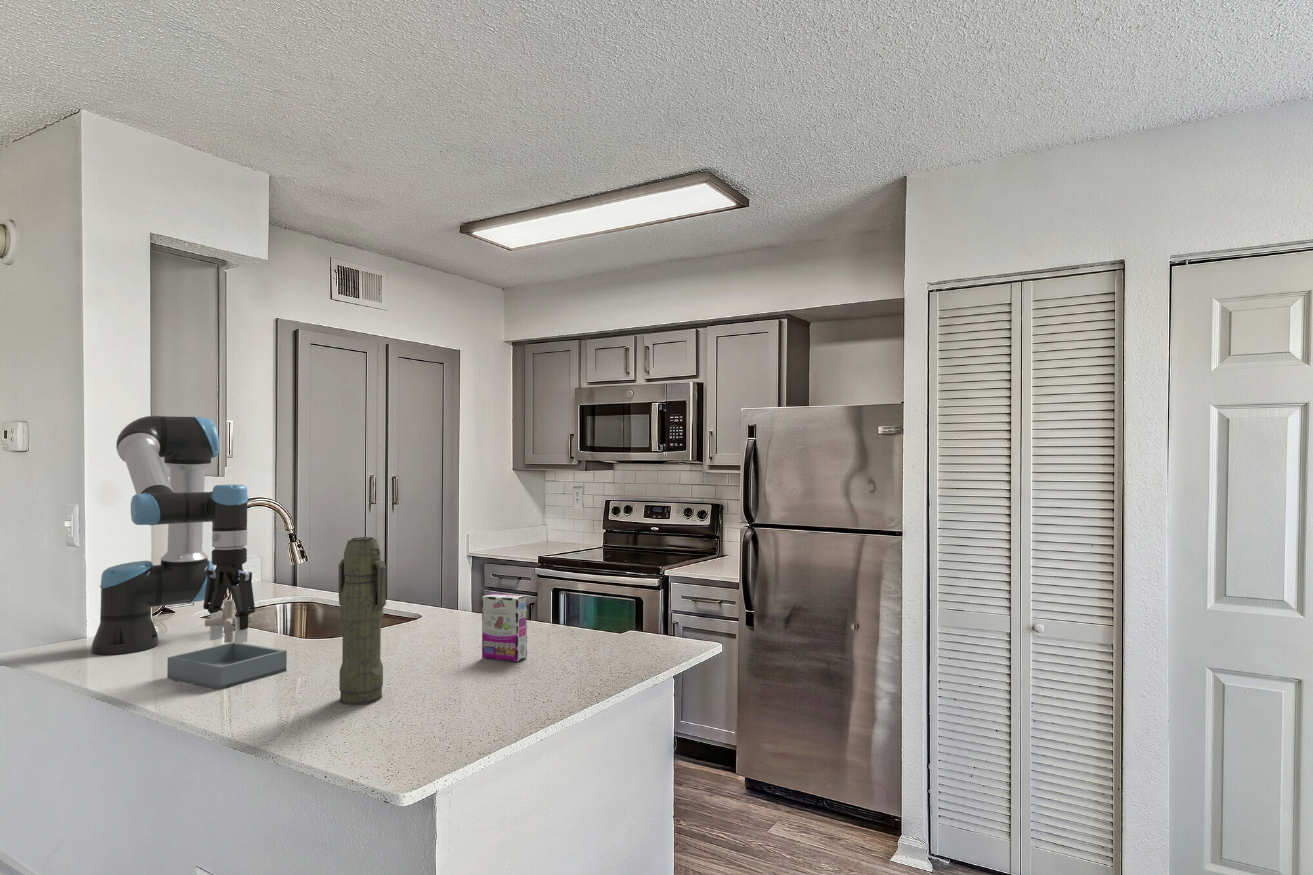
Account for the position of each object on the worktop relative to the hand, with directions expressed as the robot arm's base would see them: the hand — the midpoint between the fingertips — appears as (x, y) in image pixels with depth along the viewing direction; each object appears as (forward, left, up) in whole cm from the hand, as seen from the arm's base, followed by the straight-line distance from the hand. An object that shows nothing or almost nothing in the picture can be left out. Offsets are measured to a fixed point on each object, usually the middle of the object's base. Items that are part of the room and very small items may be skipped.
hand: (228, 640), depth 186 cm
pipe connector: (0, 0, 0) cm, 1 cm away
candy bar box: (+51, +42, -8) cm, 67 cm away
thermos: (+44, +1, -8) cm, 45 cm away
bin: (0, 0, -8) cm, 8 cm away
